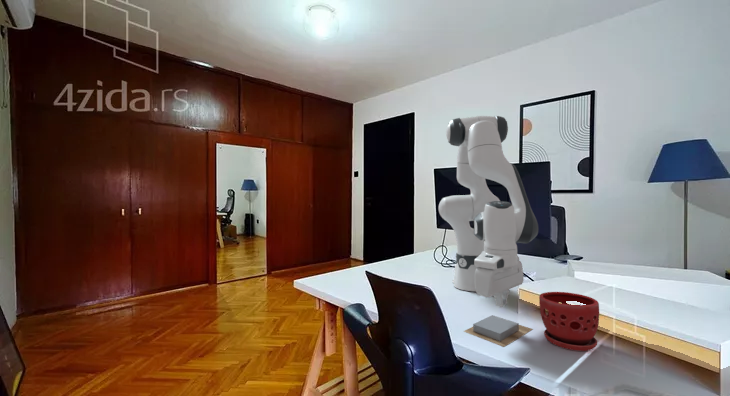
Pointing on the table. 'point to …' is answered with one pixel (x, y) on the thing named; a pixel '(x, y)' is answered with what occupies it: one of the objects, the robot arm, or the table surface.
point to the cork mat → (504, 342)
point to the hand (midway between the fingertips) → (501, 305)
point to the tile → (496, 327)
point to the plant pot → (570, 320)
